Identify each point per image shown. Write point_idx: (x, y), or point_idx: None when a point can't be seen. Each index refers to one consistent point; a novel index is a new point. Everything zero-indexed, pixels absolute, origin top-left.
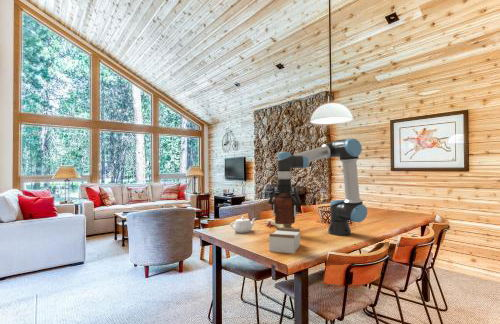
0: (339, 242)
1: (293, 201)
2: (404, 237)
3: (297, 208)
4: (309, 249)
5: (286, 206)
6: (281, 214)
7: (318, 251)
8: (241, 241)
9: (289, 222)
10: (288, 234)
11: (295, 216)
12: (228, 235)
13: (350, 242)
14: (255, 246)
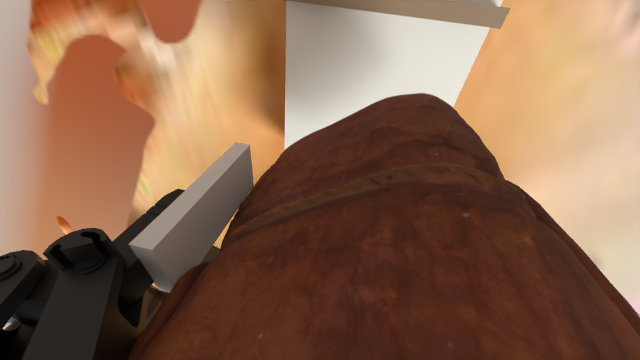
0: (181, 184)
1: (82, 352)
2: (70, 229)
3: (147, 214)
4: (253, 83)
5: (298, 245)
6: (401, 129)
7: (210, 58)
8: (597, 173)
9: (314, 132)
10: (338, 104)
11: (232, 147)
12: (636, 255)
13: (154, 186)
14: (535, 92)
